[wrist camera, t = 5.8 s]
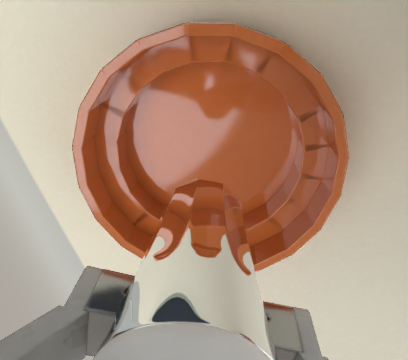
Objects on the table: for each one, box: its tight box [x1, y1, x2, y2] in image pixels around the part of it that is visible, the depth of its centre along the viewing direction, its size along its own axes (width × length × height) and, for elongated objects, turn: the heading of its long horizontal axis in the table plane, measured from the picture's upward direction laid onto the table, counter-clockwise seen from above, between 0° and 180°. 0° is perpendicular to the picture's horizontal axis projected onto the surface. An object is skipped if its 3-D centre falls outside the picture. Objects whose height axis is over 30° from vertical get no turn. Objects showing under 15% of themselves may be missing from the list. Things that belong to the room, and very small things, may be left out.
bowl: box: [72, 21, 349, 271], centre depth 22 cm, size 16×16×4 cm
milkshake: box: [93, 178, 278, 360], centre depth 11 cm, size 4×5×10 cm
